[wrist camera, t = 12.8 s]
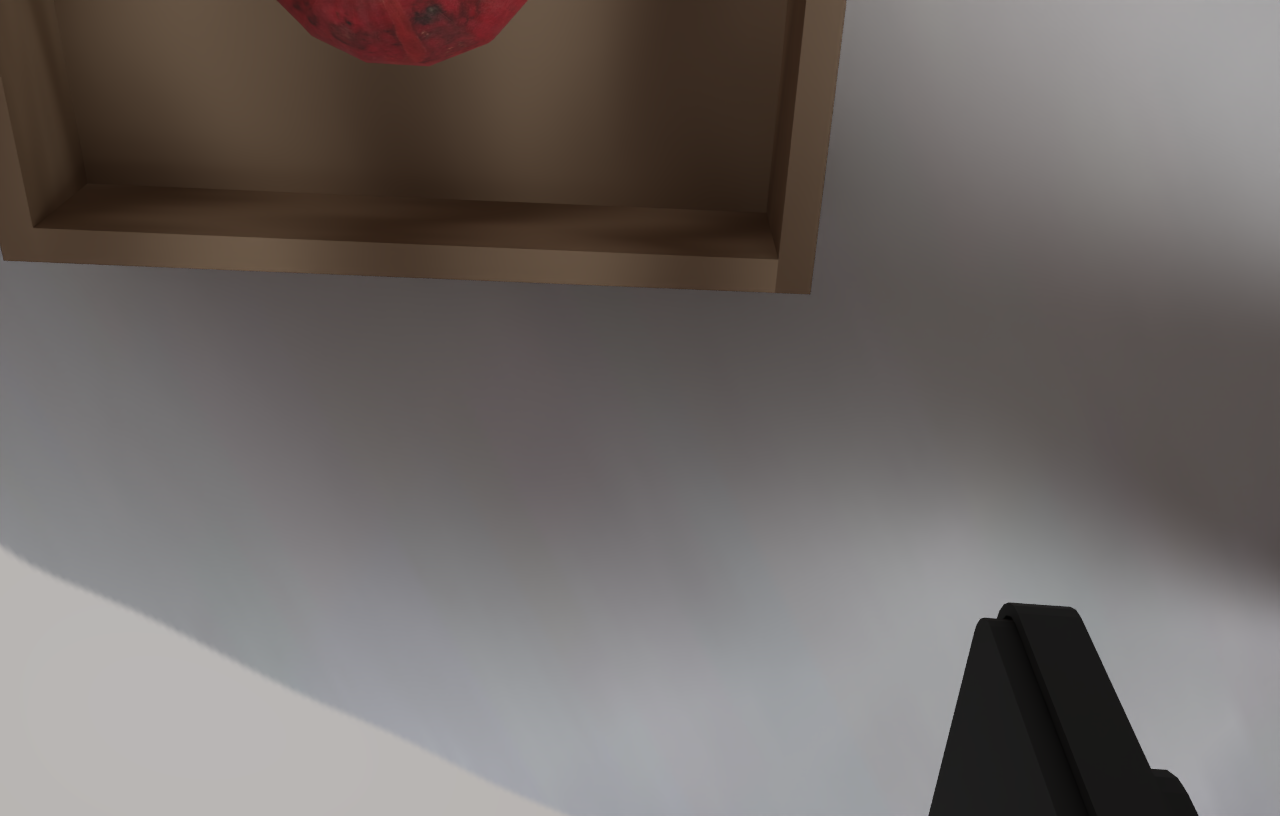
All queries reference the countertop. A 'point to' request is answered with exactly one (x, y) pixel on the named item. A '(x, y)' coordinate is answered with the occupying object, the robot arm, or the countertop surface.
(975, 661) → the robot arm
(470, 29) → the onion
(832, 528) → the countertop surface
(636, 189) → the holder tray
